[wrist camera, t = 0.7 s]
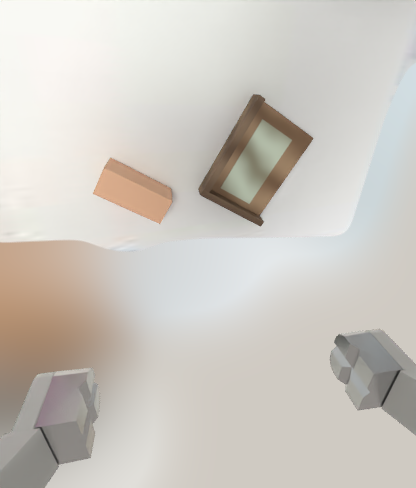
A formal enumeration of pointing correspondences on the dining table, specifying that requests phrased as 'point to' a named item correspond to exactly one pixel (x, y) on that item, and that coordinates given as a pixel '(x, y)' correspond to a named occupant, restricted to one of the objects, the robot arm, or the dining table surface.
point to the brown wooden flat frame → (254, 160)
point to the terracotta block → (133, 191)
